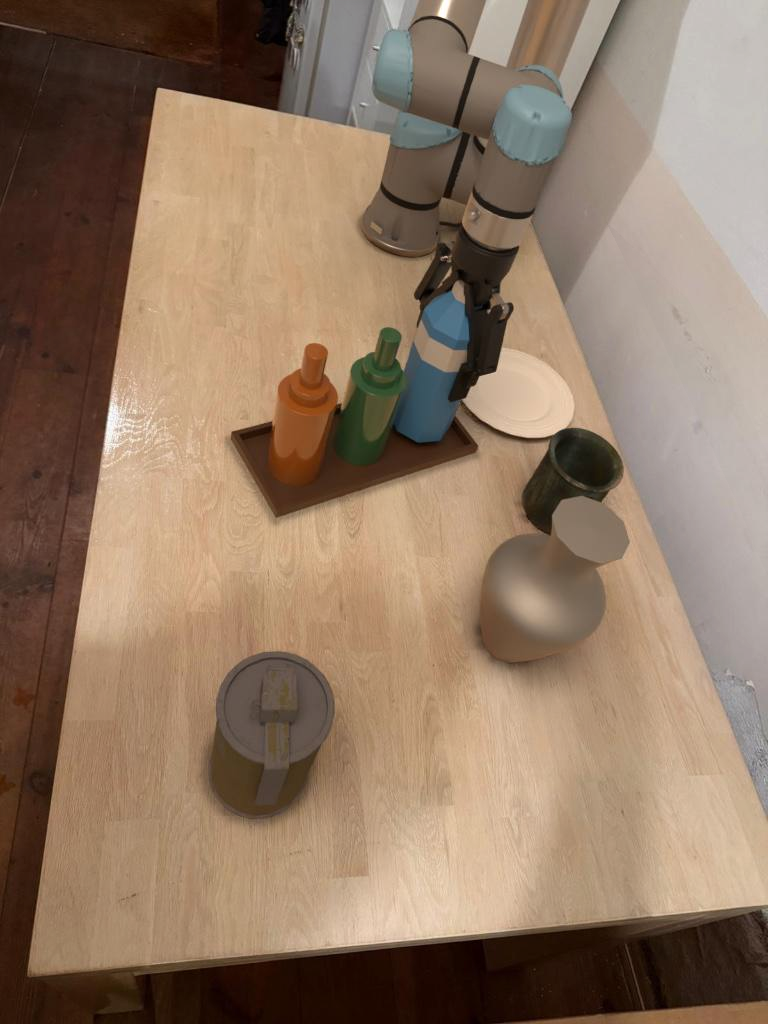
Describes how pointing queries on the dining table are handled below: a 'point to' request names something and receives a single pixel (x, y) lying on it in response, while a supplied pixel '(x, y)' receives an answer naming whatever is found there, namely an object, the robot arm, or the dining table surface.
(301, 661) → the canister
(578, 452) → the mug
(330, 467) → the tray
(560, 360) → the dining table surface
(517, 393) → the plate
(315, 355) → the amber bottle
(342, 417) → the green bottle
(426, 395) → the water bottle
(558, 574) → the vase
